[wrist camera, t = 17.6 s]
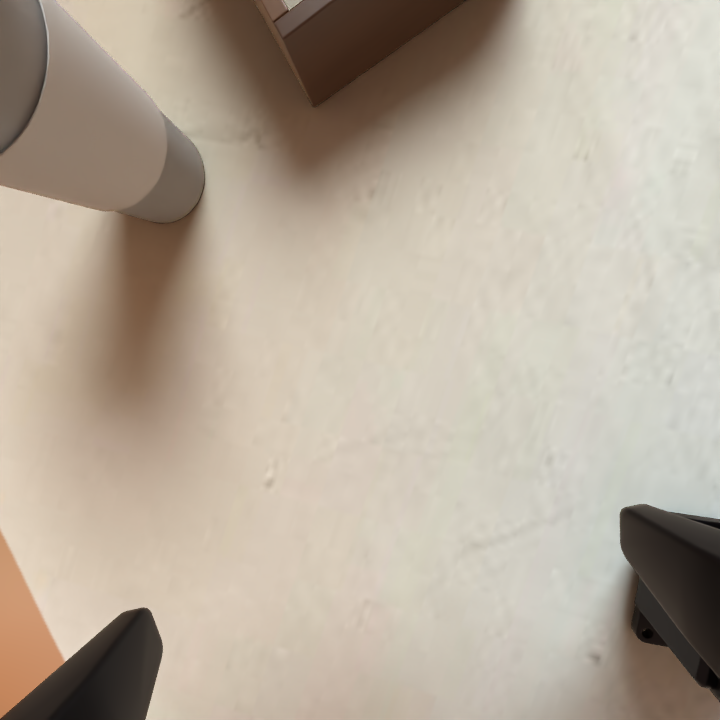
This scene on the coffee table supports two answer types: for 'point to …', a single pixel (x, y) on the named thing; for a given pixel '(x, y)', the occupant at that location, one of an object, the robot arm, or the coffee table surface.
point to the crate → (344, 36)
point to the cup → (85, 122)
